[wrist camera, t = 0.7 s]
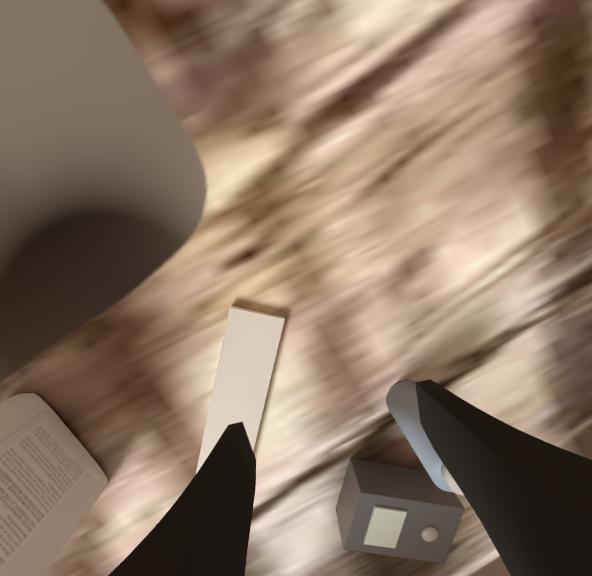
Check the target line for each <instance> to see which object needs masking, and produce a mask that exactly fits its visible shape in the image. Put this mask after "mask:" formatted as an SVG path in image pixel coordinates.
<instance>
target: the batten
mask: <svg viewBox="0 0 592 576" xmlns="http://www.w3.org/2000/svg"><path fill="white" fill-rule="evenodd" d="M284 320H285V317H282V316H278V315H273V314H268V313H264V312H259V311H255V310H250V309H245V308H241V307H236V306H231V307H230V310H229V315H228V320H227V325H226V329H225V334H224V339H223V344H222V349H221V354H220V359H219V364H218V369H217V373H216V378H215V383H214V388H213V393H212V398H211V403H210V408H209V412H208V417H207V422H206V427H205V432H204V437H203V442H202V447H201V452H200V456H199V461H198V466H197V471H196V474H197V472H198V471H199V469H200V468H201V466H202V465H203V463H204V462H205V460H206V459H207V457H208V456H209V454H210V453H211V451H212V449H213V448H214V446H215V445H216V443H217V442H218V440H219V438H220V437H221V435H222V434H223V432H224V431H225V429H226V428H227V426H228V425H229V424H234V423H238V422H243V424H244V427H245V430H246V433H247V436H248V438H249V441H250V444H251V447H252V450H254V446H255V442H256V438H257V434H258V429H259V425H260V421H261V417H262V413H263V408H264V404H265V400H266V396H267V392H268V387H269V383H270V379H271V375H272V371H273V366H274V362H275V358H276V354H277V349H278V345H279V341H280V337H281V333H282V328H283V324H284Z"/></svg>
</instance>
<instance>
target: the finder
mask: <svg viewBox="0 0 592 576" xmlns="http://www.w3.org/2000/svg"><path fill="white" fill-rule="evenodd" d="M463 511H464V507H463V506H462V504H461V503H460V501H459V500H458V498H457V497H456V495H455V494H454V492H447V491H444V490H442V489H440V488H439V487H437V486H436V485H435V483H434V482H433V480H432V479H431V477H430V476H429V474H428V472H427V471H425V470H419V469H413V468H407V467H401V466H395V465H389V464H383V463H377V462H371V461H365V460H359V459H353V458H350V461H349V464H348V468H347V471H346V475H345V478H344V482H343V485H342V489H341V492H340V496H339V499H338V503H337V506H336V512H337V517H338V523H339V528H340V533H341V538H342V543H343V548H344V550H350V551H358V552H365V553H372V554H379V555H386V556H394V557H401V558H408V559H415V560H423V561H430V562H437V563H444V562H445V560H446V557H447V554H448V552H449V549H450V546H451V544H452V541H453V538H454V536H455V533H456V530H457V528H458V525H459V522H460V520H461V517H462V514H463Z"/></svg>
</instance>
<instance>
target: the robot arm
mask: <svg viewBox="0 0 592 576" xmlns="http://www.w3.org/2000/svg"><path fill="white" fill-rule="evenodd" d="M415 385H416V393H417V400H418V408H419V415H420V423H421V425H422V427H423V429H424V431H425V433H426V435H427V437H428V439H429V441H430V443H431V445H432V447H433V449H434V450H435V452H436V453H437V455H438V456H439V458H440V459H441V461H442V462H443V464H444V465H445V467H446V469H447V470H448V472H449V473H450V475H451V476H452V478H453V479H454V481H455V482H456V484H457V485H458V487H459V488H460V490H461V491H462V493H463V494H464V496H465V497H466V499H467V500H468V502H469V503H470V505H471V506H472V508H473V509H474V511H475V512H476V514H477V516H478V517H479V519H480V521H481V522H482V524H483V526H484V528H485V529H486V531H487V533H488V535H489V537H490V538H491V540H492V542H493V544H494V546H495V547H496V549H497V551H498V553H499V555H500V556H501V558H502V560H503V562H504V564H505V566H506V568H507V569H508V571H509V573H510V575H511V576H592V460H590V459H588V458H585V457H582V456H580V455H577V454H574V453H572V452H569V451H567V450H564V449H561V448H559V447H556V446H554V445H551V444H549V443H547V442H544V441H542V440H540V439H538V438H535V437H533V436H531V435H529V434H526V433H524V432H522V431H520V430H518V429H516V428H514V427H512V426H510V425H508V424H506V423H504V422H502V421H500V420H498V419H496V418H494V417H492V416H490V415H489V414H487V413H485V412H483V411H481V410H480V409H478V408H476V407H474V406H473V405H471V404H469V403H468V402H466V401H464V400H463V399H461V398H459V397H458V396H456V395H454V394H453V393H451V392H450V391H448V390H446V389H445V388H443V387H442V386H440V385H438V384H437V383H435V382H434V381H432V380H425V381H421V382H416V383H415ZM255 484H256V459H255V456H254V453H253V450H252V447H251V444H250V441H249V438H248V436H247V433H246V430H245V427H244V424H243V422H238V423H234V424H229V425H228V426H227V428H226V429H225V431H224V432H223V434H222V435H221V437H220V438H219V440H218V442H217V443H216V445H215V446H214V448H213V449H212V451H211V453H210V454H209V456H208V457H207V459H206V460H205V462H204V463H203V465H202V466H201V468H200V469H199V471H198V472H197V474H196V475H195V477H194V478H193V479H192V481H191V482H190V483H189V485H188V486H187V488H186V489H185V490H184V492H183V493H182V495H181V496H180V497H179V498H178V500H177V501H176V502H175V504H174V505H173V506H172V507H171V509H170V510H169V511H168V512H167V513H166V515H165V516H164V517H163V518H162V519H161V521H160V522H159V523H158V524H157V525H156V526H155V527H154V529H153V530H152V531H151V532H150V533H149V534H148V535H147V536H146V537H145V538H144V539H143V540H142V542H141V543H140V544H139V545H138V546H137V547H136V548H135V549H134V550H133V551H132V552H131V553H130V554H129V555H128V557H127V558H126V559H125V560H124V561H123V562H122V563H121V564H120V565H118V566H117V567H116V568H115V569H114V570H113V571H112V572H111V573H110V574H109V575H108V576H245V566H246V556H247V548H248V541H249V533H250V526H251V518H252V511H253V503H254V495H255Z"/></svg>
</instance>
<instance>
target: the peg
mask: <svg viewBox="0 0 592 576" xmlns="http://www.w3.org/2000/svg"><path fill="white" fill-rule="evenodd" d="M415 383H416V382H414V381H409V380H406V381H401V382H398V383H396V384H395V385H394V386H392V388H391V389H390V390H389V392H388V394H387V397H386V404H387V407H388V409H389V411H390V412H391V414H392V415H393V417H394V419H395V420H396V422H397V424H398V425H399V427H400V428H401V430H402V432H403V433H404V435H405V437H406V438H407V440H408V441H409V443H410V445H411V446H412V448H413V450H414V451H415V453H416V454H417V456H418V458H419V459H420V461H421V463H422V464H423V466H424V467H425V469H426V471H427V472H428V474H429V476H430V477H431V479H432V480H433V482H434V483H435V485H436V486H437V487H439V488H440V489H442V490H444V491H447V492H454V493H456V494H458V495H462V496H464V494H463V493H462V491H461V490H460V488H459V487H458V485H457V484H456V482H455V481H454V479H453V478H452V476H451V475H450V473H449V472H448V470H447V469H446V467H445V465H444V464H443V462H442V461H441V459H440V458H439V456H438V455H437V453H436V452H435V450H434V449H433V447H432V445H431V443H430V441H429V439H428V437H427V435H426V433H425V431H424V429H423V427H422V425H421V423H420V415H419V408H418V400H417V393H416V385H415Z"/></svg>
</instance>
